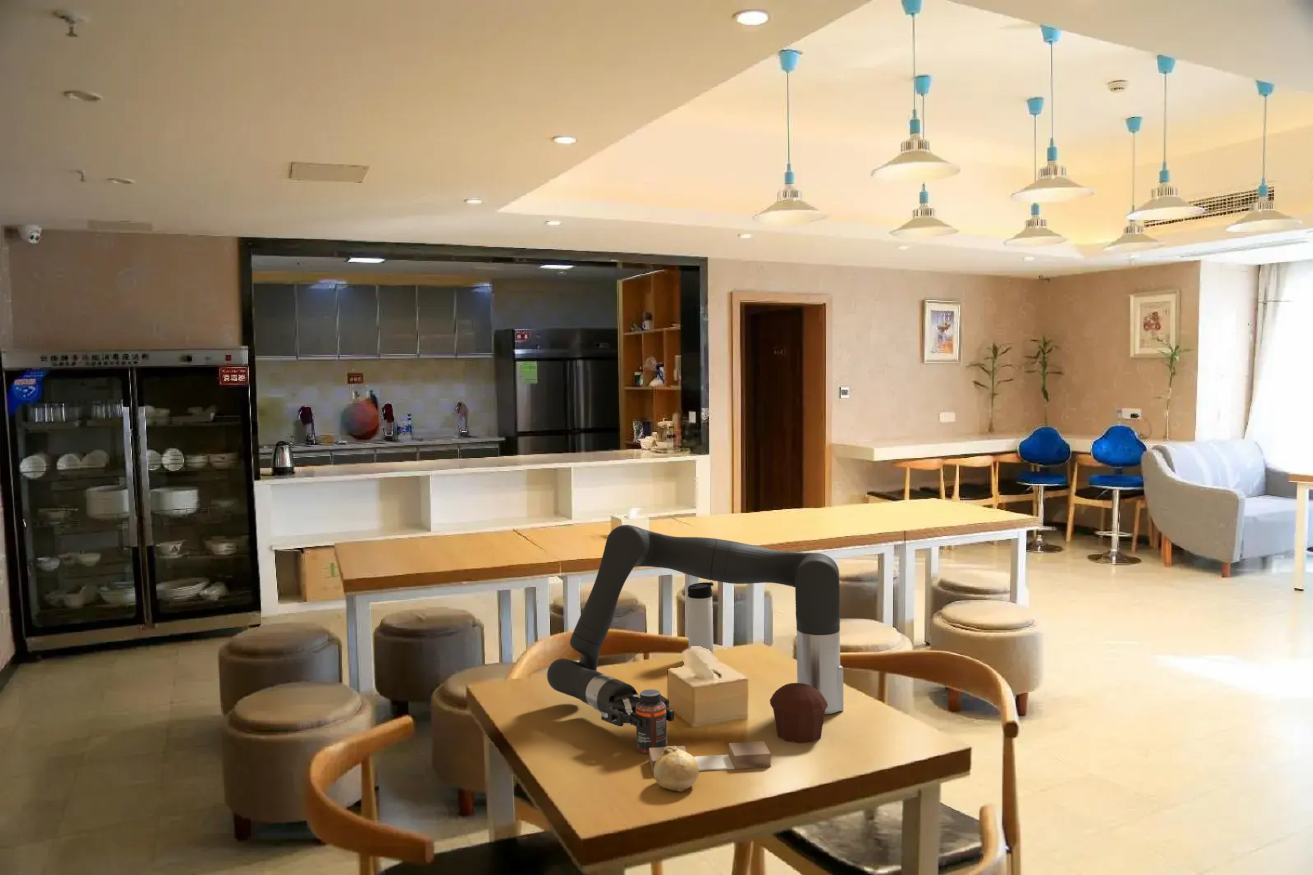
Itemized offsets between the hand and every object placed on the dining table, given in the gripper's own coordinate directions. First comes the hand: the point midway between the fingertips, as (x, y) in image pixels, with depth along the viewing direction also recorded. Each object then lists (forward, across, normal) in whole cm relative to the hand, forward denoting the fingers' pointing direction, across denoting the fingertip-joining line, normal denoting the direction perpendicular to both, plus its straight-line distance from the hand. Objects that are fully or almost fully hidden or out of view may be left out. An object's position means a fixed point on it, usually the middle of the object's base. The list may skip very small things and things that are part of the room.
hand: (658, 720), depth 180 cm
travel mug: (-41, +43, +7) cm, 60 cm away
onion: (+14, -6, +7) cm, 17 cm away
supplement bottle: (-2, 0, +7) cm, 7 cm away
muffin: (+10, +28, +7) cm, 30 cm away
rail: (+10, +4, +6) cm, 13 cm away
